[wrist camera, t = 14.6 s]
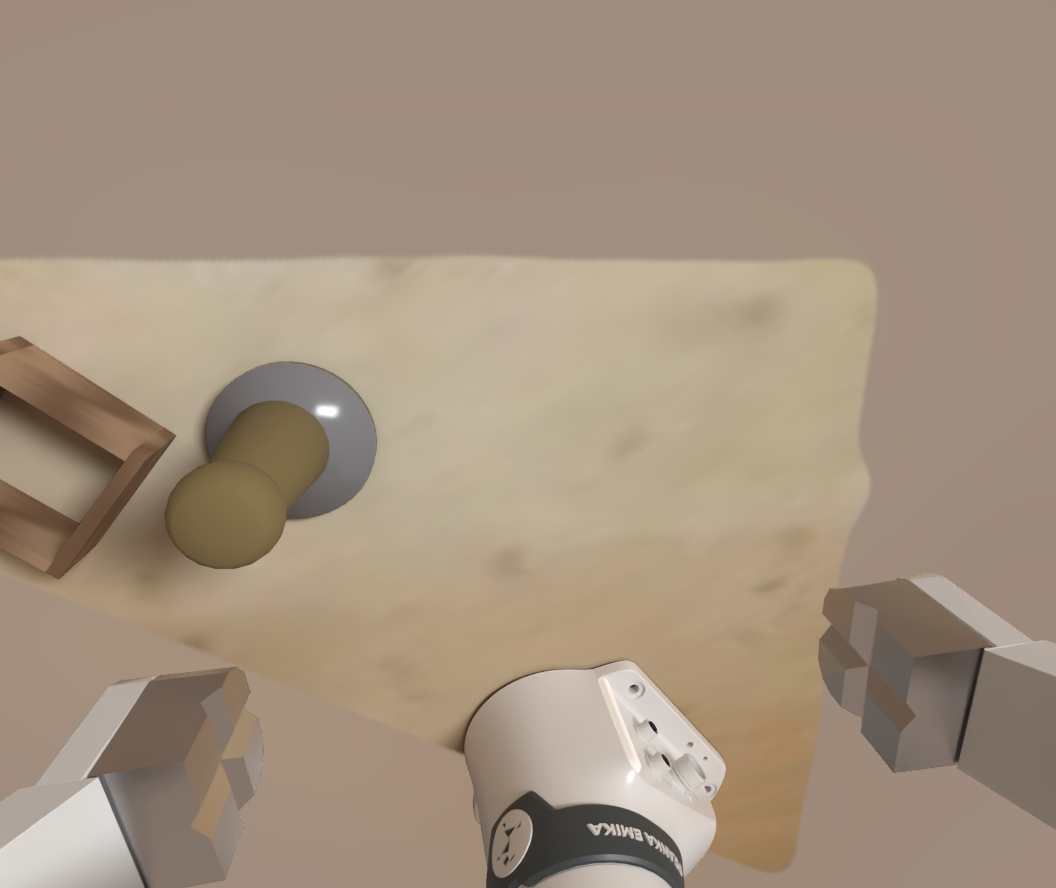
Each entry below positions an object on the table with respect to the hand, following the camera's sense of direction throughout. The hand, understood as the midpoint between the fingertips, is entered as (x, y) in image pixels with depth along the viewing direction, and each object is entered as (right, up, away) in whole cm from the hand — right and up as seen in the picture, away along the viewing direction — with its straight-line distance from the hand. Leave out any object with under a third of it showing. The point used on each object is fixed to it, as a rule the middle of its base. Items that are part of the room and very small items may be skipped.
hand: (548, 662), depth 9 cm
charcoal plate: (-15, +3, +30) cm, 34 cm away
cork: (-16, +3, +29) cm, 33 cm away
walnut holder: (-29, +3, +29) cm, 41 cm away
